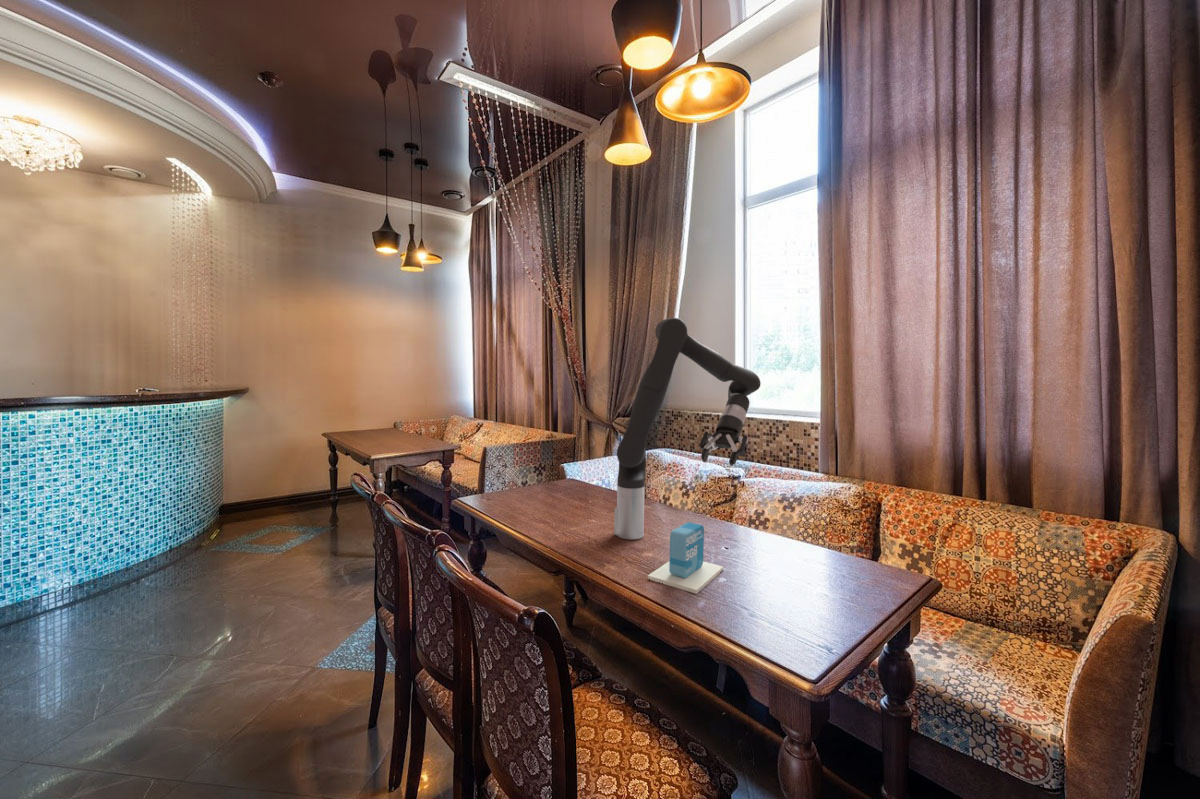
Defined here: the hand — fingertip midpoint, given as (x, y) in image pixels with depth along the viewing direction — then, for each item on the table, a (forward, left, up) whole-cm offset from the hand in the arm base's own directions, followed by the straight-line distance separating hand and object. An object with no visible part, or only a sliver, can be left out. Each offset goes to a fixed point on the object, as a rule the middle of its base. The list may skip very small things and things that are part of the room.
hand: (717, 462), depth 140 cm
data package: (-1, -17, -28) cm, 33 cm away
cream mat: (-1, -18, -29) cm, 34 cm away
